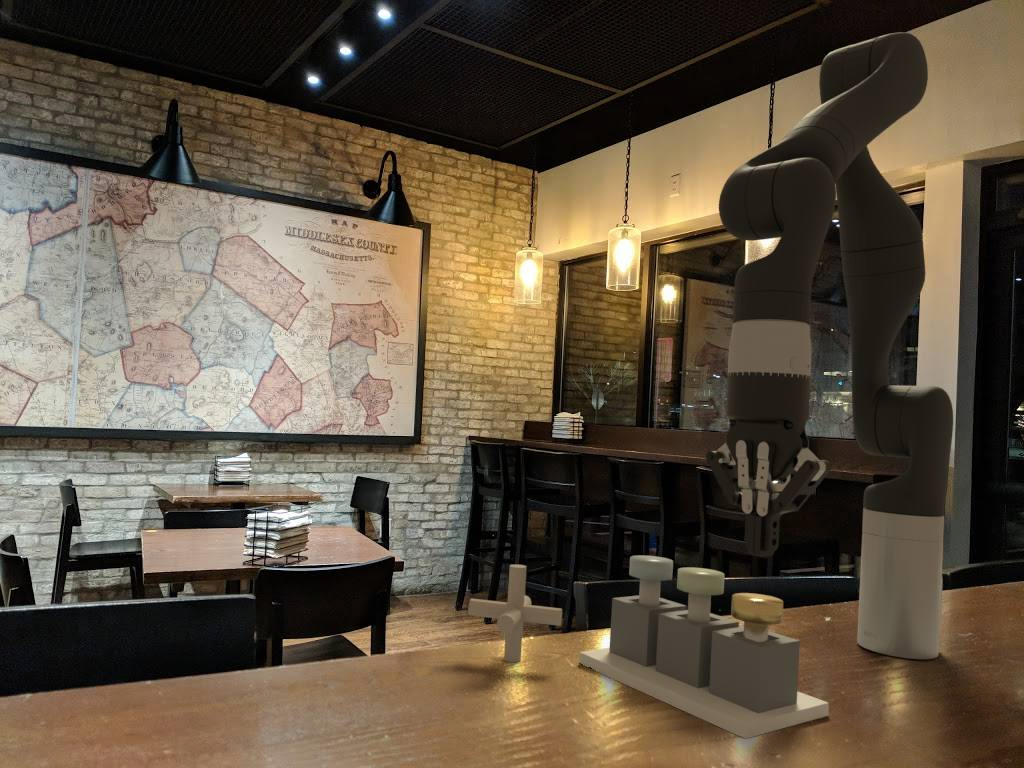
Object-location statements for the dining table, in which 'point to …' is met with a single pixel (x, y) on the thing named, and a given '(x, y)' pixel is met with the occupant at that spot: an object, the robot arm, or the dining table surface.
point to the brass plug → (757, 614)
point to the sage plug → (700, 590)
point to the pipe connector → (515, 613)
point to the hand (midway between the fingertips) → (760, 554)
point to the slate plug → (650, 576)
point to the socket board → (706, 667)
